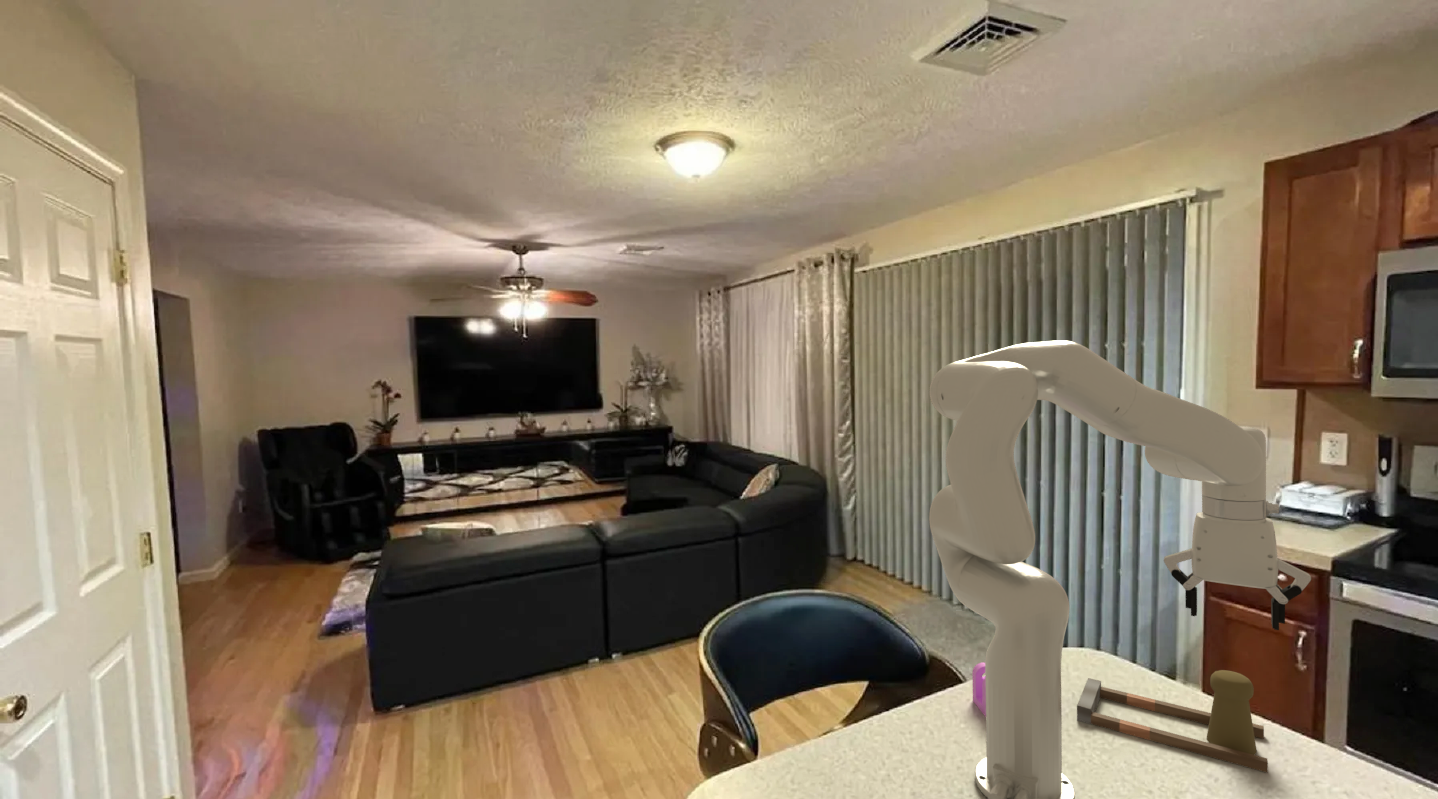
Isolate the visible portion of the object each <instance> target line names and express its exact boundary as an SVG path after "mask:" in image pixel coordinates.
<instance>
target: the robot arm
mask: <svg viewBox="0 0 1438 799" xmlns="http://www.w3.org/2000/svg"><path fill="white" fill-rule="evenodd" d="M929 398H930V401H931V404H932V406H933V407H934V409H935V410H936V411H937V412H938V413H939V414H940V415H942V417H945V418H947V419H949V420H953V421H957V422H956V424H955V427H953V428H954V429H953V430H952V433H951V434H950V437H949V440H948V443H947V446H946V449H945V450H946V451H945V466H946V472H947V475H948V479H949V485H946V486H944V487H943V488H941V489H940V490H939V491H938V492H937V493H936V495H934V498H933V499H932V502H931V504H930V508H929V514H928V517H929V528H930V532H931V535H932V539H933V542H934V545H935V547H936V549H937V554H938V556H939V559H940V562H941V566H942V568H943V571H944V574H945V576H946V580H947V582H948V585H949V587H950V589H951V591H952V593H953V595H954V596H955V597H956V599H957V600H958V601H959V602H960V603H961V604H963V605H964V607H966V608H968V609H969V610H971V611H973V612H974V613H975V614H978V615H979V616H981V617H982V618H984V619H986V620H987V621H988V622H990V623H992V624H993V626H994V627H995V630H994V631H995V632H994V635H993V637H992V639H991V641H990V642H989V645H988V647H987V650H986V653H985V659H984V660H985V662H984V663H985V673H984V676H986V717H985V736H986V737H985V740H986V743H985V746H986V747H985V748H986V757H984V758H982V759H981V760H980V761H978V763H977V764H976V766H975V769H974V781H975V784H976V786H977V788H978V789H979V791H980V792H981V793H982V794H983V795H984V796H985V797H986V798H987V799H1076V792H1075V787H1074V785H1073V784H1072V782H1071V781H1070V780H1069V779H1068V777H1067V776H1066V774H1063V771H1062V770H1063V762H1062V761H1063V760H1062V759H1063V756H1062V755H1063V753H1062V752H1063V750H1062V749H1063V748H1062V744H1063V742H1062V739H1063V738H1062V728H1063V727H1062V726H1063V725H1062V724H1063V723H1062V722H1063V721H1062V719H1063V718H1062V716H1063V715H1062V657H1063V646H1064V639H1065V635H1066V630H1067V626H1068V623H1069V618H1070V601H1069V597H1068V595H1067V592H1066V590H1065V589H1064V587H1063V586H1062V585H1061V584H1060V582H1059V581H1058V580H1057V579H1056V578H1054V577H1053V576H1052V575H1050V574H1049V573H1047V572H1046V571H1044V570H1042V569H1040V568H1038V567H1036V566H1034V565H1031V564H1028V563H1027V562H1024V561H1026V560H1027V559H1028V558H1029V557H1030V555H1031V554H1032V553H1033V551H1034V548H1035V545H1036V544H1035V543H1036V532H1035V527H1034V524H1033V519H1032V517H1031V514H1030V509H1029V507H1028V504H1027V502H1026V501H1027V500H1026V497H1025V493H1024V491H1023V489H1022V485H1021V482H1020V478H1019V475H1018V472H1017V468H1016V464H1015V458H1014V451H1015V446H1016V442H1017V439H1018V437H1019V434H1020V432H1021V431H1022V429H1023V427H1024V425H1025V423H1026V421H1027V420H1028V419H1029V418H1030V416H1031V415H1032V413H1033V411H1034V409H1035V407H1036V404H1037V401H1047V402H1050V403H1052V404H1053V405H1056V406H1058V407H1059V408H1061V409H1062V410H1065V411H1066V412H1068V413H1070V414H1071V415H1073V416H1075V417H1076V418H1078V419H1079V420H1081V421H1082V422H1084V423H1086V424H1087V425H1088V426H1091V427H1092V428H1093V429H1095V430H1096V431H1098V432H1100V433H1101V434H1103V435H1106V436H1108V437H1111V438H1113V439H1116V440H1120V441H1122V442H1126V443H1130V444H1132V445H1133V444H1134V445H1136V446H1137V445H1138V446H1142V447H1144V456H1145V460H1146V461H1147V464H1149V466H1150V467H1151V468H1152V469H1153V470H1155V471H1156V472H1157V473H1160V474H1162V475H1165V476H1168V477H1173V478H1177V479H1184V480H1190V481H1191V480H1192V481H1198V482H1201V512H1197V513H1196V514H1195V517H1194V523H1193V528H1192V540H1191V548H1189V549H1186V550H1182V551H1177V552H1175V553H1172V554H1169V555H1165V556H1164V558H1163V563H1164V564H1165V566H1166V567H1167V569H1168V571H1169V572H1170V575H1171V576H1172V577H1173V578H1174V579H1175V580H1176V581H1177V582H1178V583H1179V584H1180V585H1181V586H1182V587H1183V589H1184V590H1185V591H1184V592H1185V609H1190V616H1191V617H1196V616H1197V614H1198V587H1197V586H1198V585H1199V584H1200V583H1201V582H1202V581H1205V582H1211V583H1216V584H1217V583H1218V584H1223V585H1232V586H1240V587H1246V588H1247V587H1248V588H1254V589H1255V588H1256V589H1265V590H1266V591H1267V592H1268V593H1269V595H1271V597H1272V598H1271V600H1270V603H1271V604H1270V605H1271V608H1270V612H1271V614H1270V615H1271V616H1270V617H1271V621H1270V623H1271V627H1272V629H1274V630H1275V631H1280V624H1283V625H1285V624H1286V604H1288V602H1289V601H1291V600H1293V599H1295V598H1296V597H1298V596H1299V595H1301V594H1302V593H1303V590H1304V589H1305V588H1306V587H1307V586H1308V585H1309V583H1310V582H1311V580H1312V576H1311V575H1310V573H1308V572H1307V571H1304V570H1302V569H1300V568H1298V567H1296V566H1294V565H1292V564H1290V563H1288V562H1287V561H1284V560H1282V559H1280V558H1278V548H1277V540H1276V531H1275V527H1274V523H1273V520H1272V519H1271V518H1268V517H1267V516H1269V515H1272V514H1279V513H1280V505H1279V504H1278V503H1273V502H1270V501H1268V500H1267V499H1266V498H1267V492H1266V491H1267V440H1266V435H1265V434H1264V432H1263V431H1262V430H1261V429H1259V428H1256V427H1250V426H1241V425H1238V424H1236V423H1235V422H1233V421H1231V420H1230V419H1229V418H1227V417H1225V416H1224V415H1221V414H1219V413H1218V412H1216V411H1213V410H1211V409H1209V408H1205V407H1203V406H1202V405H1198V404H1196V403H1193V402H1190V401H1187V400H1184V399H1181V398H1179V397H1176V396H1173V395H1172V394H1169V393H1167V392H1163V391H1161V390H1157V389H1155V388H1151V387H1150V386H1146V385H1145V384H1143V383H1141V382H1139V381H1138V380H1136V379H1135V378H1133V377H1132V376H1131V375H1129V374H1127V373H1125V372H1124V371H1123V370H1122V369H1120V368H1118V367H1116V366H1115V365H1114V364H1112V363H1111V362H1109V361H1108V360H1106V359H1105V358H1103V357H1102V356H1100V355H1099V354H1097V353H1096V352H1094V351H1093V350H1091V349H1089V348H1088V347H1086V346H1084V345H1082V344H1080V343H1078V342H1075V341H1072V340H1046V341H1034V342H1033V341H1032V342H1024V343H1017V344H1013V345H1010V346H1006V347H1003V348H999V349H996V350H994V351H989V352H985V353H981V354H979V355H975V356H972V357H967V358H964V359H961V360H960V359H959V360H957V361H954V362H951V363H947V365H945V366H943V367H941V368H940V369H939V370H938V371H937V372H936V373H935V375H934V376H933V378H932V380H931V383H930V386H929ZM1189 560H1191V561H1190V562H1191V572H1190V574H1188V575H1187V574H1186V573H1184V571H1182V570H1181V569H1180V568H1179V566H1178V563H1182V562H1185V561H1189ZM1279 571H1281V572H1283V573H1284V574H1287V576H1291V577H1292V578H1294V580H1293V582H1292V583H1290V584H1288V585H1287V586H1285V587H1284V588H1282V587H1281V586H1280V584H1278V581H1279V580H1278V578H1279Z"/></svg>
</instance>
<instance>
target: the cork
mask: <svg viewBox="0 0 1438 799" xmlns="http://www.w3.org/2000/svg"><path fill="white" fill-rule="evenodd" d="M1209 681H1210V688H1211V690H1213V692H1214V694H1213V700H1212V705H1211V712H1210V713H1211V716H1210V721H1209V725H1208V728H1207V733H1206V742H1207V743H1211V744H1215V745H1219V746H1222V747H1226V748H1230V749H1234V750H1237V751H1241V752H1245V753H1249V754H1252V755H1256V754H1257V744H1256V737H1254V731H1253V724H1254V723H1253V719H1252V712H1251V707H1250V706H1251V705H1250V700H1251V698H1253V696H1254V685H1253V683H1252V680H1250V679H1249V678H1248V677H1247V676H1245V675H1244V674H1242V673H1240V672H1236V671H1233V670H1225V669H1219V670H1215V671H1214V672H1213V673H1212V674H1211V675H1210V679H1209ZM1252 723H1253V724H1252Z"/></svg>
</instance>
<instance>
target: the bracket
mask: <svg viewBox="0 0 1438 799" xmlns="http://www.w3.org/2000/svg"><path fill="white" fill-rule="evenodd" d="M971 672H972V675H971V676H972V701H973V703H974V704H975V705H976V707H977V708H978V709H979V711H980V712H981V713H982V714H983V716H984V717H985V718H986V675H985V662H984V661H983V662H979V663H977V664H976V665H975V666H974V667H973V669H972V671H971ZM983 675H984V676H983Z"/></svg>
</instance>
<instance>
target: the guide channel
mask: <svg viewBox="0 0 1438 799" xmlns="http://www.w3.org/2000/svg"><path fill="white" fill-rule="evenodd" d="M1085 682H1086V683H1085V684H1084V687H1083V690H1082V692H1081V695H1080V697H1079V700H1078V702H1077V704H1076V720H1077V721H1079V722H1083V723H1085V724H1090V725H1093V726H1097V727H1101V728H1104V729H1107V730H1110V731H1111V730H1112V731H1115V732H1119V733H1122V734H1126V735H1130V736H1134V737H1136V738H1141V739H1145V740H1147V741H1151V742H1156V743H1157V744H1162V745H1166V746H1170V747H1172V748H1177V749H1180V750H1183V751H1187V752H1191V753H1195V754H1199V755H1202V756H1205V757H1210V758H1212V759H1215V760H1220V761H1224V762H1227V763H1231V764H1233V765H1238V766H1241V767H1246V768H1249V769H1252V770H1256V771H1260V772H1264V773H1269V771H1268V769H1269V767H1268V764H1269V763H1268V758H1267V757H1263V756H1259V755H1256V754H1255V755H1252V754H1249V753H1245V752H1241V751H1237V750H1234V749H1230V748H1226V747H1222V746H1219V745H1215V744H1211V743H1209V742H1208V741H1203V740H1200V739H1196V738H1192V737H1189V736H1184V735H1181V734H1177V733H1173V732H1169V731H1165V730H1162V729H1159V728H1155V727H1152V726H1146V725H1143V724H1139V723H1136V722H1132V721H1128V720H1124V719H1120V718H1117V717H1113V716H1110V715H1106V714H1102V713H1098V712H1096V711H1097V707H1098V705H1099V701H1100V699H1104V700H1108V701H1112V702H1117V703H1120V704H1124V705H1128V706H1131V707H1134V708H1135V707H1136V708H1140V709H1143V708H1144V709H1143V710H1148V711H1151V712H1155V713H1159V712H1160V714H1164V715H1167V716H1172V717H1174V718H1180V719H1183V720H1189V721H1191V722H1195V723H1198V724H1199V723H1200V724H1203V725H1206V726H1209V721H1210V716H1211V712H1207V711H1204V710H1203V711H1202V710H1199V709H1196V708H1191V707H1187V706H1183V705H1178V704H1175V703H1171V702H1166V701H1163V700H1158V699H1153V698H1150V697H1145V696H1143V695H1137V694H1133V693H1129V692H1125V691H1122V690H1117V689H1114V688H1113V689H1112V688H1109V687H1105V686H1102V680H1098V679H1095V678H1090V677H1087V680H1086V681H1085ZM1100 697H1101V698H1100ZM1252 724H1253V731H1254V737H1255V738H1259V739H1265V729H1264V725H1261V724H1257V723H1253V722H1252Z"/></svg>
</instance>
